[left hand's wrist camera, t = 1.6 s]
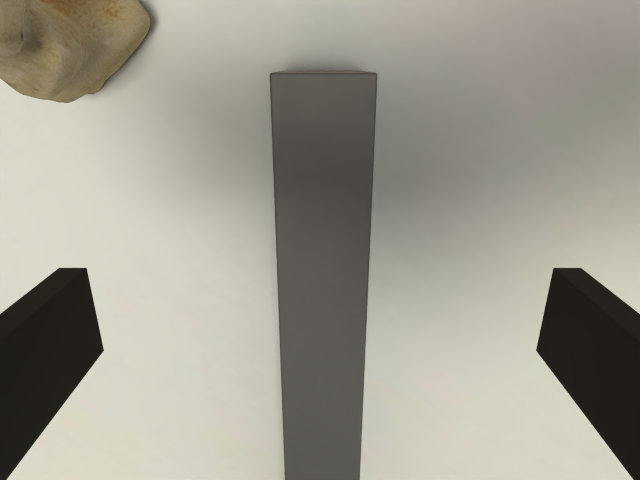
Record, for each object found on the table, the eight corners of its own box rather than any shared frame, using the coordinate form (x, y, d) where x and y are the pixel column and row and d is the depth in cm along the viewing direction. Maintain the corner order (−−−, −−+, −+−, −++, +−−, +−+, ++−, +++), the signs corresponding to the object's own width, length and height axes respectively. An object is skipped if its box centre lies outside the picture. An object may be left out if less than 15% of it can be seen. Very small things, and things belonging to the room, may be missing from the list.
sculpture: (175, 31, 27) (21, -5, 13) (104, 115, 29) (-96, 161, 15) (97, -49, 26) (-168, -183, 12) (27, 45, 28) (-273, 24, 14)
